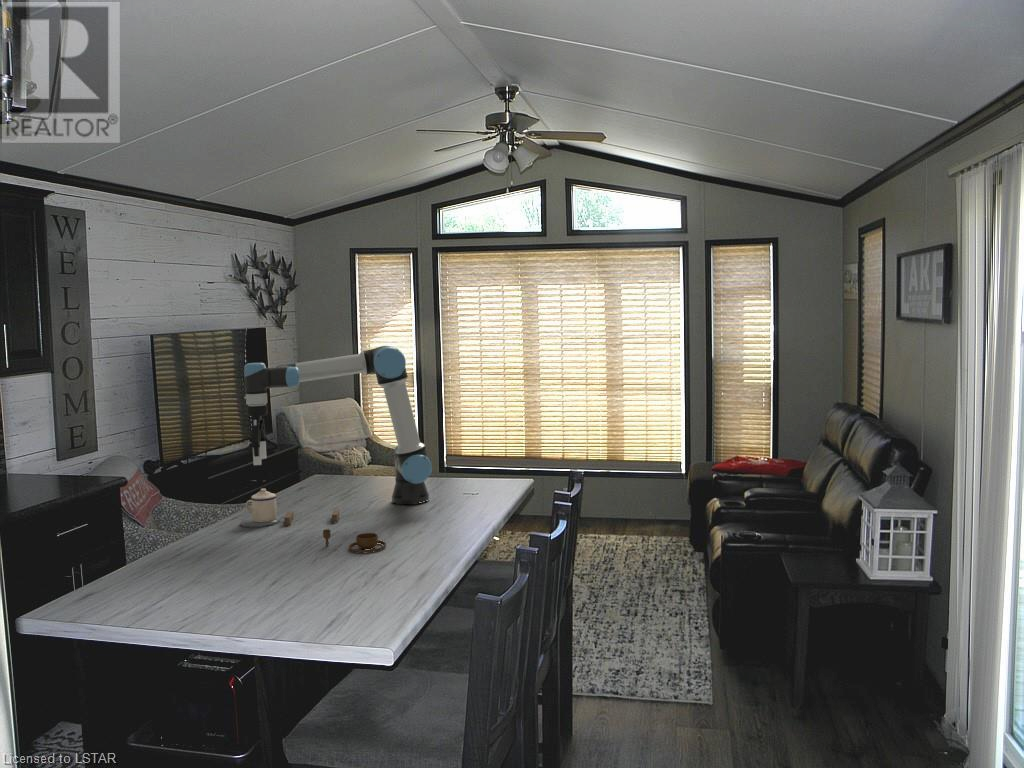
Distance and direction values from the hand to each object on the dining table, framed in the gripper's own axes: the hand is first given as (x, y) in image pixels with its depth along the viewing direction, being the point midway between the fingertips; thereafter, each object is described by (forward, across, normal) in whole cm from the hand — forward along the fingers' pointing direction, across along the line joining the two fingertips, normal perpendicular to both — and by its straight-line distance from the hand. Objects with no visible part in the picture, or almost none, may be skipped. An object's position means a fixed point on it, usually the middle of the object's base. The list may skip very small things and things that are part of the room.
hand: (260, 461), depth 309 cm
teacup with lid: (+22, 0, -1) cm, 22 cm away
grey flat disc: (+23, +1, -1) cm, 23 cm away
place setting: (+24, +42, +36) cm, 61 cm away
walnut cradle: (+23, +3, +18) cm, 29 cm away
